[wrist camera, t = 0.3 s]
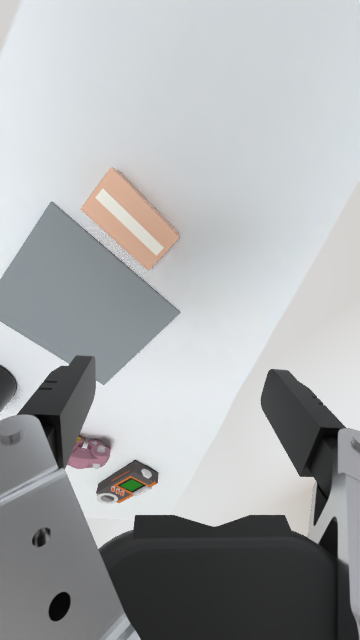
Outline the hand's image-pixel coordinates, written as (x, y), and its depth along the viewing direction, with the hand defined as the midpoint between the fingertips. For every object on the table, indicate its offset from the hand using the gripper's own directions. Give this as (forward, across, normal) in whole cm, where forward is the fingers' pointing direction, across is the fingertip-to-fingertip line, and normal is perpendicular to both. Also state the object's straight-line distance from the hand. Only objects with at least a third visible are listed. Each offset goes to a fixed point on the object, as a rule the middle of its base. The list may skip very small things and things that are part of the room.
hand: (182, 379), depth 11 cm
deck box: (+21, +5, -7) cm, 23 cm away
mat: (+23, +12, +5) cm, 26 cm away
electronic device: (+28, +5, +46) cm, 54 cm away
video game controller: (+27, +12, +33) cm, 44 cm away
